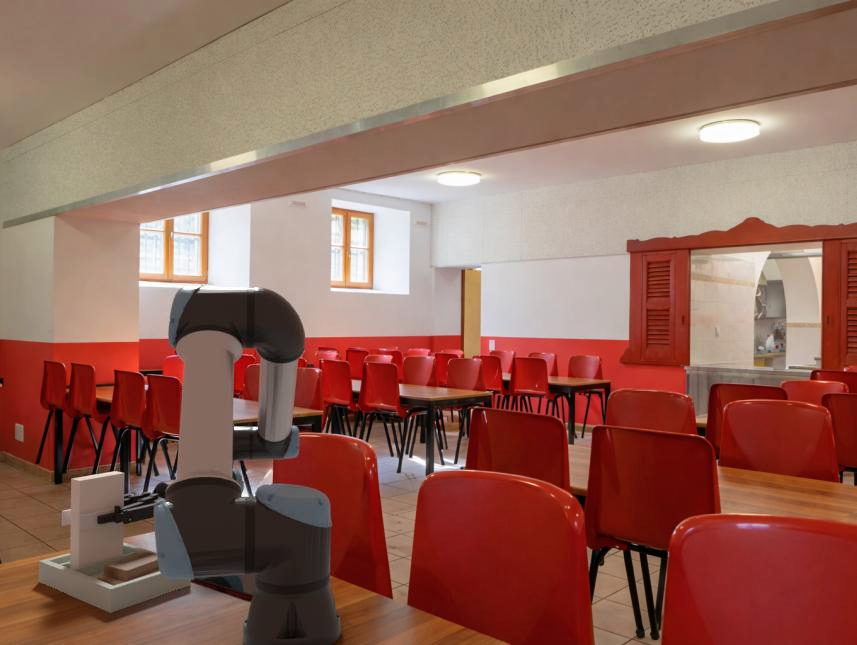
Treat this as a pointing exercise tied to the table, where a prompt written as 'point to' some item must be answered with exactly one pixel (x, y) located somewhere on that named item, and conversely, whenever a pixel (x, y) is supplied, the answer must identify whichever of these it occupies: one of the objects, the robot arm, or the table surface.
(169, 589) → the tray
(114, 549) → the white rectangular block
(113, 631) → the table surface
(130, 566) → the offcut upper
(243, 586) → the smartphone
